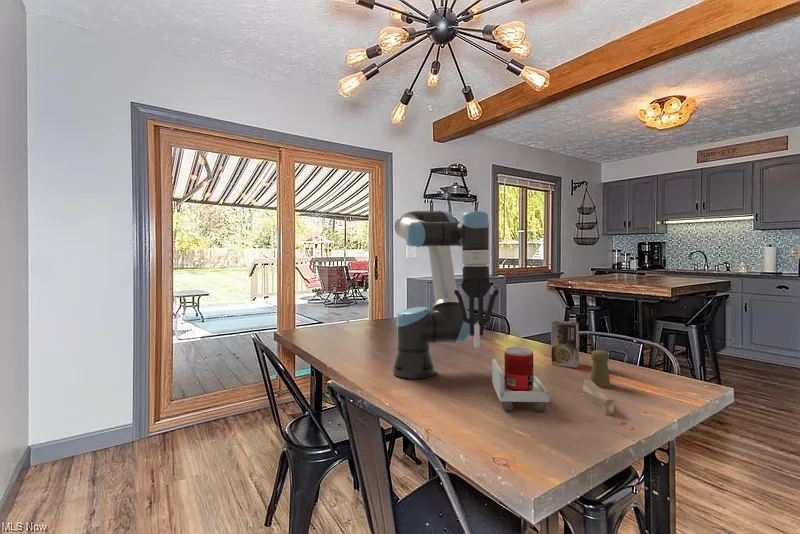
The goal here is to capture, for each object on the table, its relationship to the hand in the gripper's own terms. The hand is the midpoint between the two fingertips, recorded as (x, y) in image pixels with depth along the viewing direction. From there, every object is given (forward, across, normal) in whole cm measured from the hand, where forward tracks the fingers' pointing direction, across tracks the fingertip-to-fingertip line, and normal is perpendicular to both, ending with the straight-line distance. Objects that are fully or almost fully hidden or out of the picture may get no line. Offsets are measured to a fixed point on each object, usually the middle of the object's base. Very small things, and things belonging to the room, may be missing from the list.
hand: (476, 346), depth 115 cm
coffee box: (+16, +37, +38) cm, 56 cm away
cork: (+16, +41, +16) cm, 47 cm away
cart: (+16, +12, 0) cm, 20 cm away
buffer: (+16, +34, 0) cm, 38 cm away
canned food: (+12, +12, 0) cm, 17 cm away
